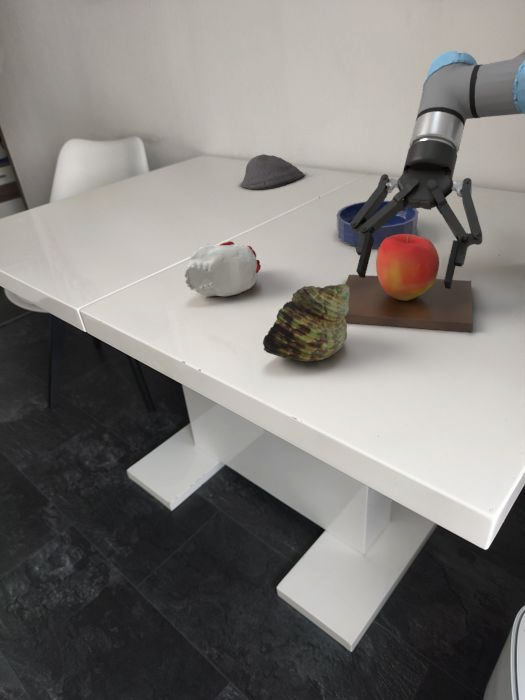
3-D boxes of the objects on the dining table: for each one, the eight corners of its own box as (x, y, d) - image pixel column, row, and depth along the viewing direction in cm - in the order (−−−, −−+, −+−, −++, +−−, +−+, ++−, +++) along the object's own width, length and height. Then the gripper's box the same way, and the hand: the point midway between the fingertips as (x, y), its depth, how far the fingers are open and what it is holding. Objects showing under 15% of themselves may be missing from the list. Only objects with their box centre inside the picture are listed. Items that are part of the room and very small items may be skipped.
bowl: (419, 221, 116) (420, 201, 114) (414, 251, 103) (415, 228, 101) (344, 220, 121) (344, 200, 118) (330, 248, 108) (330, 226, 106)
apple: (423, 316, 80) (428, 252, 74) (363, 303, 84) (364, 243, 79) (443, 288, 86) (449, 229, 81) (386, 278, 91) (389, 221, 86)
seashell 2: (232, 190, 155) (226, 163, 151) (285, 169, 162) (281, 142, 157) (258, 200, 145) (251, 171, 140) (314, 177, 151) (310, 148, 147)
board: (469, 288, 89) (471, 280, 88) (471, 332, 78) (472, 323, 77) (348, 282, 94) (348, 274, 94) (334, 321, 83) (333, 313, 83)
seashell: (274, 332, 82) (269, 272, 77) (350, 333, 80) (350, 271, 75) (263, 372, 74) (256, 307, 68) (347, 374, 71) (347, 308, 66)
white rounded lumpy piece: (184, 303, 92) (220, 276, 104) (246, 308, 88) (275, 279, 101) (178, 251, 88) (216, 229, 100) (242, 255, 84) (273, 231, 97)
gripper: (517, 167, 82) (489, 299, 79) (362, 161, 93) (332, 278, 90) (519, 138, 76) (488, 281, 73) (352, 136, 86) (319, 261, 83)
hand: (402, 280), depth 81 cm, fingers open, 12 cm apart
